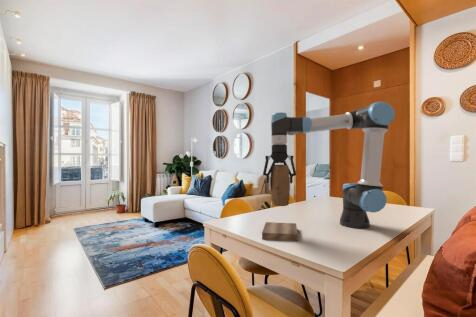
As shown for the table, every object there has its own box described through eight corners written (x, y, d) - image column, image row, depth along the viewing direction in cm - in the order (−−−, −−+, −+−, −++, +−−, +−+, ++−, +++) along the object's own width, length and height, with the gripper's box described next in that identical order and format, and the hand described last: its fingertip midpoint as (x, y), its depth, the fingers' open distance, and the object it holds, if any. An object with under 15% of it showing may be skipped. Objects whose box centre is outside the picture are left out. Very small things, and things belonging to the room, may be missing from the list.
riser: (296, 229, 130) (296, 223, 130) (297, 241, 112) (297, 234, 112) (265, 227, 134) (265, 222, 134) (262, 239, 115) (262, 232, 115)
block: (290, 206, 118) (290, 164, 118) (275, 207, 117) (275, 164, 117) (283, 202, 128) (283, 164, 128) (269, 203, 127) (269, 164, 127)
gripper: (256, 144, 121) (257, 190, 121) (302, 143, 117) (302, 191, 117) (258, 145, 128) (258, 188, 128) (301, 144, 124) (301, 189, 124)
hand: (279, 189), depth 123 cm, fingers closed on block, 9 cm apart
